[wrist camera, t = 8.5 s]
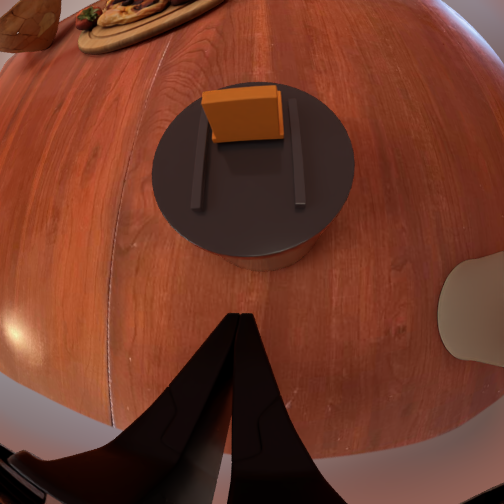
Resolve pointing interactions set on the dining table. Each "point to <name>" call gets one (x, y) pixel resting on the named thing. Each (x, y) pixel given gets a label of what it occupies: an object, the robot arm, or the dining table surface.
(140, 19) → the wooden plate
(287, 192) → the round container with rails
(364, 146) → the dining table surface
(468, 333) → the can
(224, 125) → the slider
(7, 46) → the bowl
